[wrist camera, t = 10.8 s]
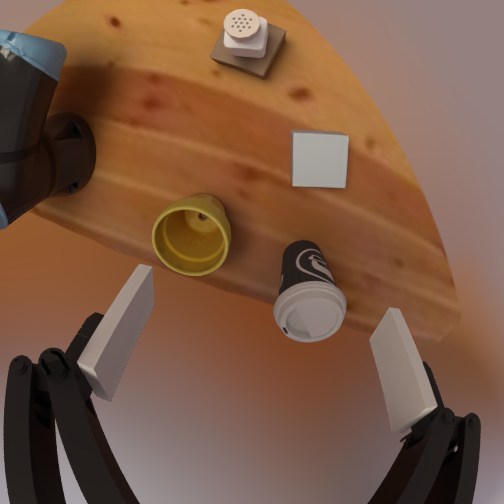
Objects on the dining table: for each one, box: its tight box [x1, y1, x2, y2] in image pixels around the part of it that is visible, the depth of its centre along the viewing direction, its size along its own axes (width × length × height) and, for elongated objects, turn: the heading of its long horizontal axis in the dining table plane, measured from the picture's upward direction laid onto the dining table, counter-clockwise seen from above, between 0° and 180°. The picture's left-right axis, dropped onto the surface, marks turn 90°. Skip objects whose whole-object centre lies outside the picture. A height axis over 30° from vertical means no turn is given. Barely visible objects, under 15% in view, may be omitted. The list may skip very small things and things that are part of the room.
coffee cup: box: [273, 240, 346, 342], centre depth 38 cm, size 10×10×15 cm
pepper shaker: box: [223, 9, 268, 58], centre depth 21 cm, size 4×4×10 cm
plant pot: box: [152, 194, 231, 276], centre depth 38 cm, size 10×10×10 cm
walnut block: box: [210, 24, 286, 79], centre depth 27 cm, size 7×7×5 cm
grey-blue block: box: [290, 129, 349, 188], centre depth 34 cm, size 7×7×5 cm
